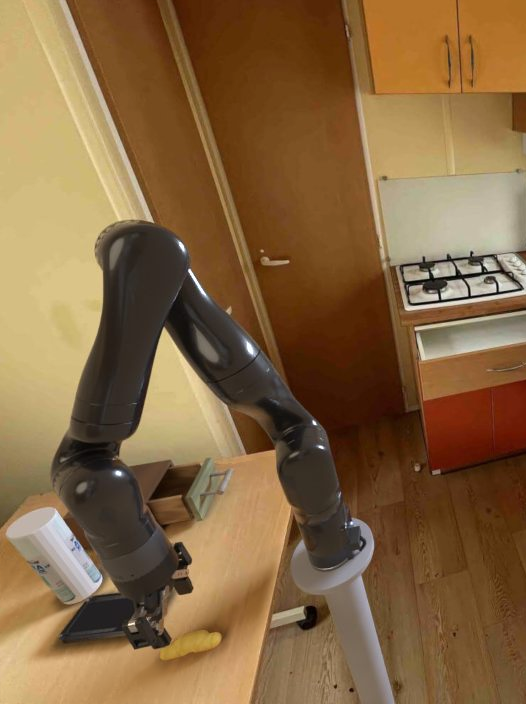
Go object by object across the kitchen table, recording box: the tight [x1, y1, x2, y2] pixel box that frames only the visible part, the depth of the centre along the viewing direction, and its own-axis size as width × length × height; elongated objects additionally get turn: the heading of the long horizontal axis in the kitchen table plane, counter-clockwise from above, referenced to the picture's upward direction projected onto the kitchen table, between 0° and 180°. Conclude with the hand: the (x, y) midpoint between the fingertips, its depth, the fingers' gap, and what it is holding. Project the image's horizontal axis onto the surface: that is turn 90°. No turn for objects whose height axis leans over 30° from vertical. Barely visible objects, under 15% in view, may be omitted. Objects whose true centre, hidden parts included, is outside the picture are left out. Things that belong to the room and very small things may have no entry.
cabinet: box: [62, 459, 175, 550], centre depth 98 cm, size 15×14×10 cm
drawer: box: [147, 457, 234, 526], centre depth 100 cm, size 18×12×8 cm
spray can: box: [5, 506, 103, 605], centre depth 80 cm, size 6×6×20 cm
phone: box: [58, 592, 171, 644], centre depth 80 cm, size 8×1×15 cm
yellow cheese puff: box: [159, 629, 222, 661], centre depth 75 cm, size 9×3×3 cm, turn 105°
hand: (176, 616), depth 72 cm, fingers open, 8 cm apart
